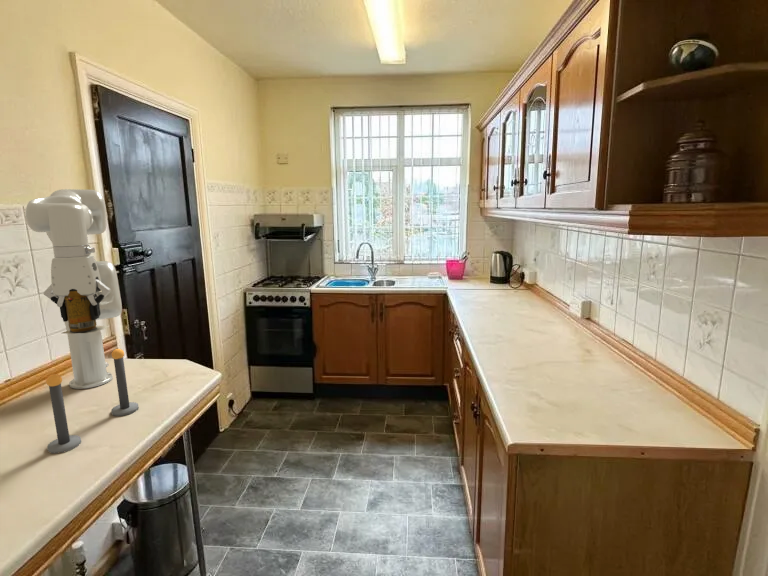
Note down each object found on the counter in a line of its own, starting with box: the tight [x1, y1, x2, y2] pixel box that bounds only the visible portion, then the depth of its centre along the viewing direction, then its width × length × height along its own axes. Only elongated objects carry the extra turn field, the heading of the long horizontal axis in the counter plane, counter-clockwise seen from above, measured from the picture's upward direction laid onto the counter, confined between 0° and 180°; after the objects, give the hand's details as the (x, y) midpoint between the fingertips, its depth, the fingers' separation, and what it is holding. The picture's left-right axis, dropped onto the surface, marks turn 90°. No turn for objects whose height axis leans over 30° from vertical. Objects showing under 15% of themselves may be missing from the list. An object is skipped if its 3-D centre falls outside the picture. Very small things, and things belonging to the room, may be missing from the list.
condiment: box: [62, 289, 110, 335], centre depth 114 cm, size 7×8×12 cm
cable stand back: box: [111, 348, 139, 417], centre depth 128 cm, size 7×7×20 cm
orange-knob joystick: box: [45, 373, 82, 454], centre depth 109 cm, size 7×7×20 cm
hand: (81, 318), depth 114 cm, fingers closed on condiment, 6 cm apart
